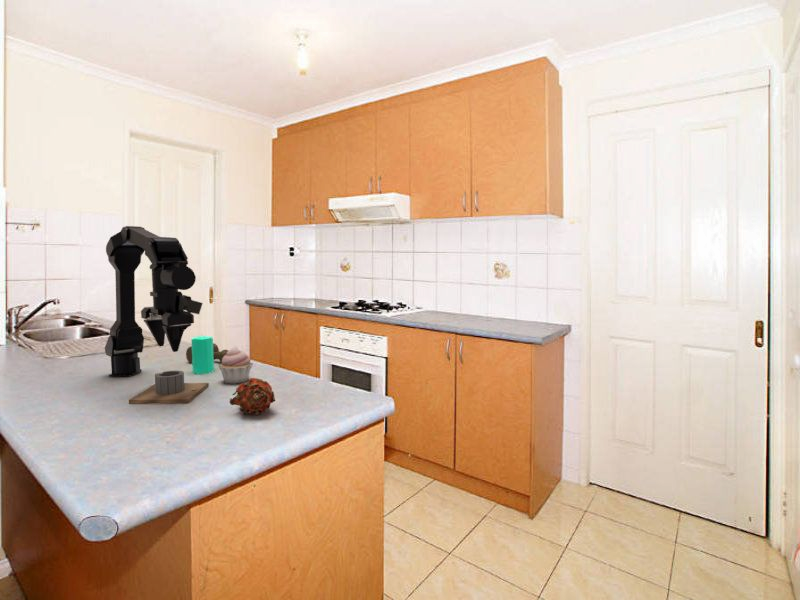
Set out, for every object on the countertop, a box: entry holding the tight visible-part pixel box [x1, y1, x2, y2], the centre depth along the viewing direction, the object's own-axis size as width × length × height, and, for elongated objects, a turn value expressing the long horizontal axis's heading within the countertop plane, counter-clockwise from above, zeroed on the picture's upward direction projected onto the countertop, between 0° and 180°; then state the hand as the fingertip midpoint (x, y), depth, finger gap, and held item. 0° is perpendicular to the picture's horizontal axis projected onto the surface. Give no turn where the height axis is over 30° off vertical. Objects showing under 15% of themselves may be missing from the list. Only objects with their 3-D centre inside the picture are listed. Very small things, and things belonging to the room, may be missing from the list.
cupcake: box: [218, 346, 254, 385], centre depth 130 cm, size 9×9×10 cm
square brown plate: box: [128, 382, 210, 405], centre depth 118 cm, size 14×14×4 cm
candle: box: [191, 335, 215, 375], centre depth 140 cm, size 6×6×12 cm
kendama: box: [185, 342, 229, 364], centre depth 153 cm, size 6×10×20 cm
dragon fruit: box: [229, 377, 276, 416], centre depth 106 cm, size 8×8×12 cm
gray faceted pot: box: [153, 370, 185, 395], centre depth 118 cm, size 6×7×5 cm
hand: (168, 348), depth 117 cm, fingers open, 9 cm apart
